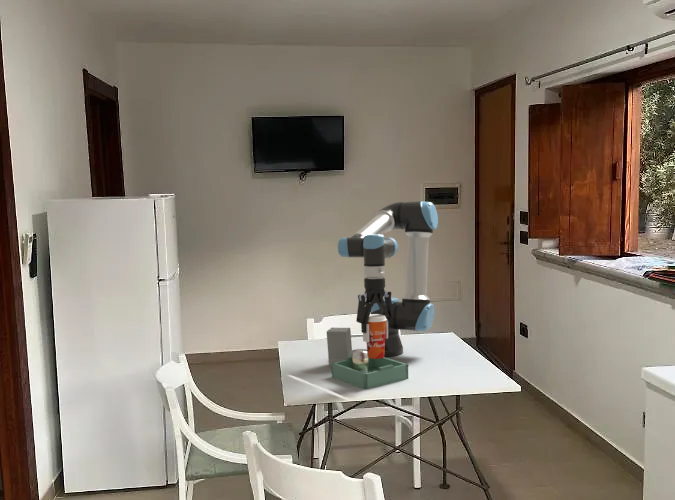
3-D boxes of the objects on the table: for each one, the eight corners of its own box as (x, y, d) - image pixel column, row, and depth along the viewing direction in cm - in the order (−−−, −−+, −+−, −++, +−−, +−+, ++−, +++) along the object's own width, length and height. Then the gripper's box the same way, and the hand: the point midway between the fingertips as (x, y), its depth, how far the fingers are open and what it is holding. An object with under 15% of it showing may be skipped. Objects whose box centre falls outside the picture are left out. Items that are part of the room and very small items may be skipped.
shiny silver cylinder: (349, 374, 246) (348, 350, 246) (362, 371, 250) (361, 348, 249) (359, 377, 242) (358, 353, 241) (372, 374, 245) (371, 350, 244)
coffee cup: (366, 360, 233) (365, 318, 231) (363, 354, 241) (362, 314, 240) (389, 359, 233) (388, 317, 232) (385, 353, 242) (385, 313, 240)
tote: (332, 378, 244) (331, 360, 243) (373, 369, 255) (373, 351, 255) (365, 391, 227) (365, 371, 227) (408, 380, 239) (408, 361, 238)
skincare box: (353, 366, 260) (352, 327, 259) (347, 371, 253) (346, 330, 252) (333, 365, 263) (332, 326, 261) (327, 369, 256) (326, 329, 255)
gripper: (357, 281, 226) (359, 346, 228) (403, 275, 238) (404, 337, 240) (344, 279, 232) (346, 342, 234) (390, 273, 244) (391, 333, 246)
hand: (375, 339), depth 237 cm, fingers closed on coffee cup, 8 cm apart
